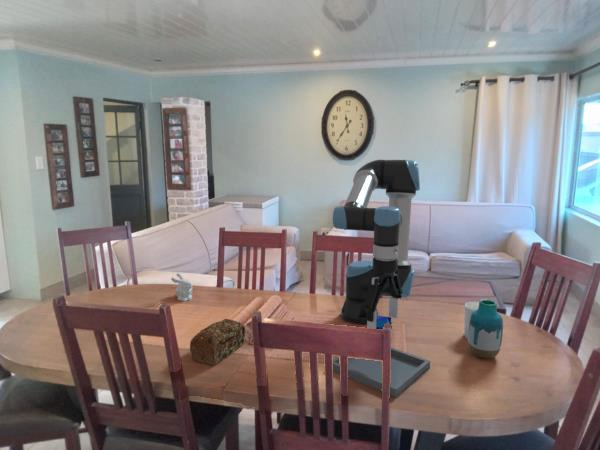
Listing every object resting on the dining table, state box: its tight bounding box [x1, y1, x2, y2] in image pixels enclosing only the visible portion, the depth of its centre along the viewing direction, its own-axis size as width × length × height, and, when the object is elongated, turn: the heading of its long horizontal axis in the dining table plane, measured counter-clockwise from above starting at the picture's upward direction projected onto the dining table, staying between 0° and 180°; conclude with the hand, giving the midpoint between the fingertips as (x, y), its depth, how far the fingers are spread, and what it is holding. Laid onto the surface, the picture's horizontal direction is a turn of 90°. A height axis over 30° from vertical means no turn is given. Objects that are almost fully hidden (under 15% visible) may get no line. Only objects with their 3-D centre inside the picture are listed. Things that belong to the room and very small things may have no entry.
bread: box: [189, 318, 246, 367], centre depth 152 cm, size 19×11×10 cm, turn 154°
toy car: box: [376, 315, 393, 330], centre depth 140 cm, size 7×12×5 cm, turn 163°
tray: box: [332, 347, 431, 398], centre depth 142 cm, size 24×22×2 cm
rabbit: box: [171, 273, 193, 302], centre depth 203 cm, size 12×9×12 cm
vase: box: [467, 299, 504, 359], centre depth 150 cm, size 11×11×19 cm
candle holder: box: [463, 301, 479, 339], centre depth 165 cm, size 10×10×12 cm
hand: (382, 323), depth 140 cm, fingers closed on toy car, 13 cm apart
